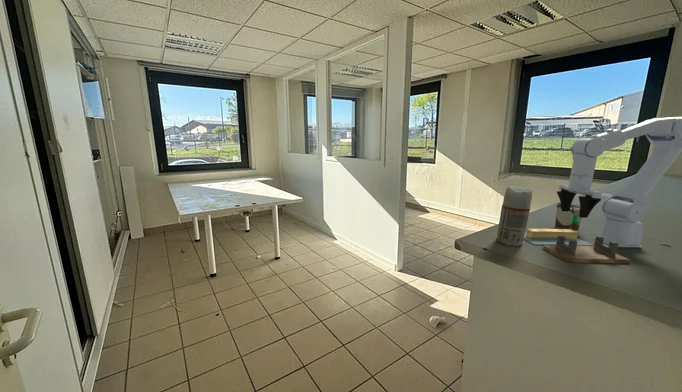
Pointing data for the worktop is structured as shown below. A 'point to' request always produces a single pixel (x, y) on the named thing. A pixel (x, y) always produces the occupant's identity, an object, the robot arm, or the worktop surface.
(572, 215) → the food container
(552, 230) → the brass rail
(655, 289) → the worktop surface
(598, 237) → the hook stand
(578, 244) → the rubber mat
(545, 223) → the worktop surface
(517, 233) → the spray can
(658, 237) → the worktop surface
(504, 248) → the worktop surface
